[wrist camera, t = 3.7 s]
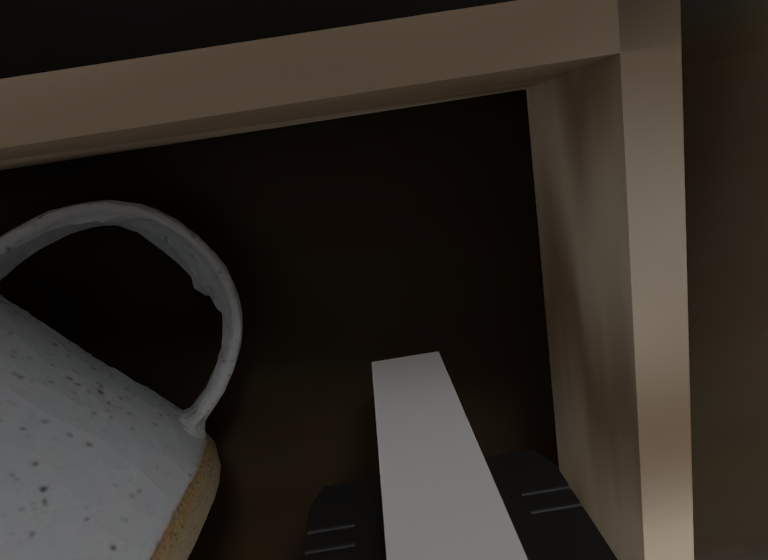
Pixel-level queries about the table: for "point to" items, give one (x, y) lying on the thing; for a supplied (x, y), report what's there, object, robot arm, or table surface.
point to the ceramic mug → (104, 417)
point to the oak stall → (551, 180)
